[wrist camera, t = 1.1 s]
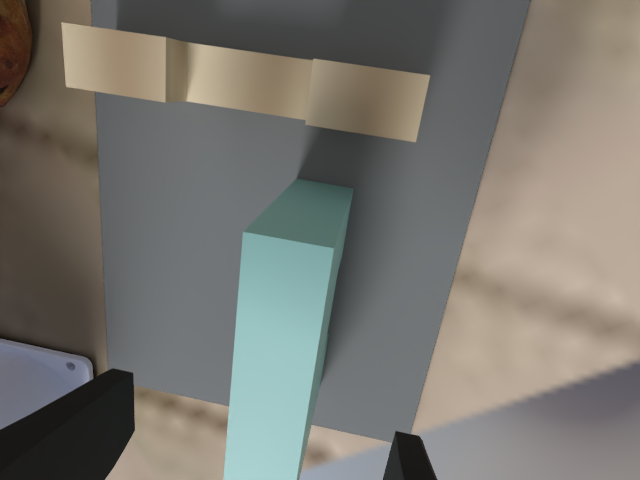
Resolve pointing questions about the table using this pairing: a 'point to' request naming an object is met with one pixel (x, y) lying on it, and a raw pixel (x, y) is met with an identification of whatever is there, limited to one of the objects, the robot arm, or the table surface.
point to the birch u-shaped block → (245, 81)
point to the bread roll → (13, 46)
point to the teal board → (283, 328)
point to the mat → (277, 174)
